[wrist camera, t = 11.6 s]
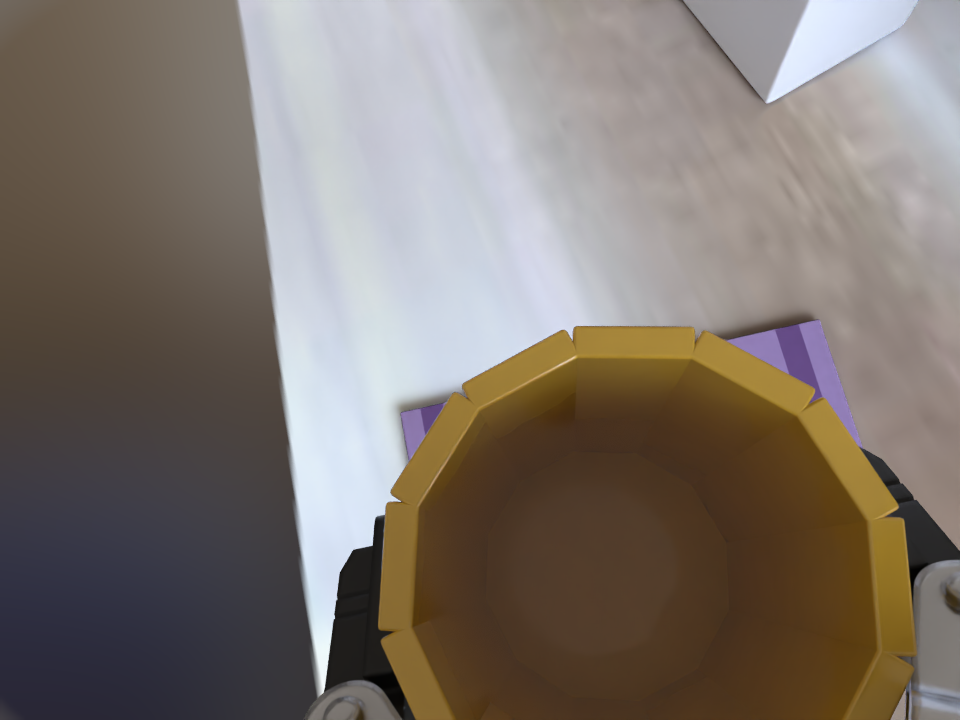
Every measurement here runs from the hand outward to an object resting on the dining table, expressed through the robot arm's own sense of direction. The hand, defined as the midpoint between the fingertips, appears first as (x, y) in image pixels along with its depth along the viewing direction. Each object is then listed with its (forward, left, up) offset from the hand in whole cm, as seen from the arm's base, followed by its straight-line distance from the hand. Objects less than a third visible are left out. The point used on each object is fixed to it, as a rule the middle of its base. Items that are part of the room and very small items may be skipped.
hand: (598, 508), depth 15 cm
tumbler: (+1, +1, -5) cm, 5 cm away
